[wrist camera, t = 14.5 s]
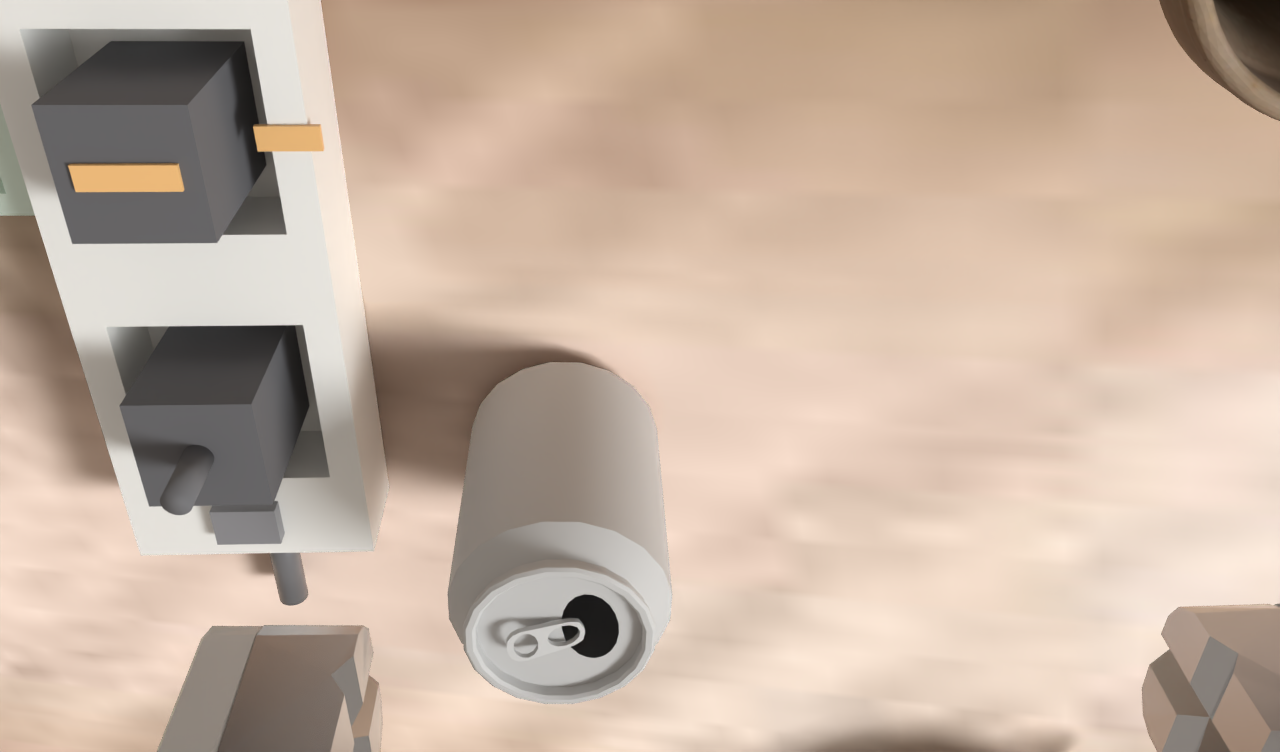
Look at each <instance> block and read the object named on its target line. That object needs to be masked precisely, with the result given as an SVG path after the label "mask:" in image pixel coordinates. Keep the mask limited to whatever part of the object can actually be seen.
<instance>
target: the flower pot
mask: <svg viewBox="0 0 1280 752" xmlns="http://www.w3.org/2000/svg"><path fill="white" fill-rule="evenodd" d="M1159 1H1160V4H1161V7H1162V10H1163V13H1164V15H1165V18H1166V20H1167V22H1168V24H1169V26H1170V28H1171V30H1172V32H1173V34H1174V36H1175V38H1176V40H1177V41H1178V43H1179V44H1180V46H1181V47H1182V48H1183V49H1184V51H1185V52H1186V53H1187V54H1188V56H1189V57H1190V58H1191V59H1192V60H1193V61H1194V62H1195V63H1196V64H1197V66H1198V67H1199V68H1200V69H1201V70H1202V71H1204V72H1205V73H1206V74H1207V75H1208V76H1209V77H1211V78H1212V79H1213V80H1214V81H1215V82H1217V83H1218V84H1219V85H1221V86H1222V87H1224V88H1225V89H1227V90H1228V91H1229V92H1231V93H1232V94H1233V95H1235V96H1236V97H1237V98H1239V99H1240V100H1241V101H1242V102H1244V103H1245V104H1247V105H1249V106H1250V107H1252V108H1254V109H1255V110H1257V111H1259V112H1261V113H1263V114H1265V115H1267V116H1269V117H1271V118H1273V119H1276V120H1279V121H1280V0H1159Z"/></svg>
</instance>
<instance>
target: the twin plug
mask: <svg viewBox="0 0 1280 752" xmlns="http://www.w3.org/2000/svg"><path fill="white" fill-rule="evenodd" d="M309 406H310V405H309V400H308V394H307V389H306V383H305V378H304V372H303V367H302V361H301V356H300V350H299V345H298V339H297V334H296V328H295V325H254V326H169V327H168V329H167V330H166V332H165V333H164V335H163V337H162V338H161V340H160V341H159V343H158V345H157V346H156V348H155V349H154V351H153V353H152V354H151V356H150V357H149V359H148V361H147V362H146V364H145V365H144V367H143V369H142V370H141V372H140V373H139V375H138V377H137V378H136V380H135V381H134V383H133V385H132V386H131V388H130V389H129V391H128V393H127V394H126V396H125V397H124V399H123V401H122V402H121V404H120V405H119V407H120V410H121V413H122V417H123V420H124V423H125V427H126V430H127V434H128V437H129V440H130V444H131V447H132V450H133V454H134V457H135V461H136V464H137V467H138V471H139V474H140V477H141V481H142V484H143V488H144V491H145V494H146V498H147V501H148V504H149V507H156V506H162V508H163V509H164V510H165V511H167V512H169V513H171V514H174V515H185V514H187V513H189V512H190V511H191V510H192V508H193V506H219V505H273V504H274V501H275V498H276V495H277V493H278V490H279V487H280V485H281V482H282V479H283V477H284V474H285V471H286V468H287V466H288V463H289V460H290V458H291V455H292V452H293V449H294V447H295V444H296V441H297V439H298V436H299V433H300V431H301V428H302V425H303V422H304V420H305V417H306V414H307V412H308V409H309Z"/></svg>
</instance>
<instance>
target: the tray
mask: <svg viewBox="0 0 1280 752" xmlns="http://www.w3.org/2000/svg"><path fill="white" fill-rule="evenodd" d="M0 216H35V214H34V211H33V207H32V204H31V201H30V198H29V194H28V191H27V188H26V185H25V182H24V178H23V175H22V172H21V169H20V166H19V162H18V159H17V156H16V153H15V150H14V146H13V143H12V140H11V137H10V133H9V130H8V127H7V124H6V121H5V117H4V114H3V111H2V108H1V105H0Z"/></svg>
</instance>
